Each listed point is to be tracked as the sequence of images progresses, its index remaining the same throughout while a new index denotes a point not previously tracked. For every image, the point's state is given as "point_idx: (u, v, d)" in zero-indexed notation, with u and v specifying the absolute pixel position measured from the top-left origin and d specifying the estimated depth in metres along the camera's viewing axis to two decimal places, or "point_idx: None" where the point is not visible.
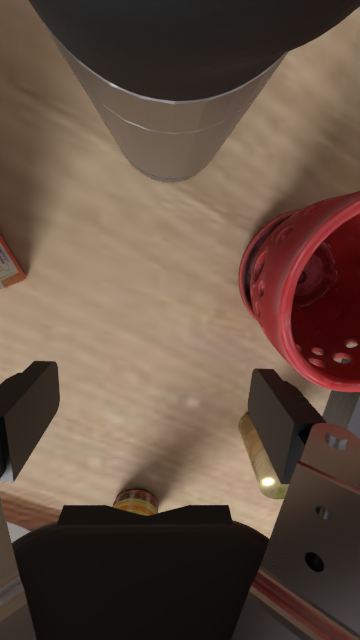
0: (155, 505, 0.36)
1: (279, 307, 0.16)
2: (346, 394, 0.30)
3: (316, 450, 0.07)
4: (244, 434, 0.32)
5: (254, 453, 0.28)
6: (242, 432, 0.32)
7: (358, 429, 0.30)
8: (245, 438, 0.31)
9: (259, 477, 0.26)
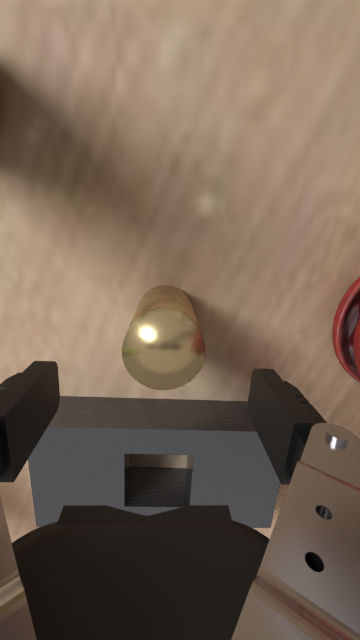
0: None
1: None
2: (243, 417, 0.23)
3: (316, 450, 0.07)
4: (170, 291, 0.20)
5: (178, 304, 0.17)
6: (167, 289, 0.20)
7: (205, 445, 0.21)
8: (170, 292, 0.19)
9: (171, 312, 0.14)
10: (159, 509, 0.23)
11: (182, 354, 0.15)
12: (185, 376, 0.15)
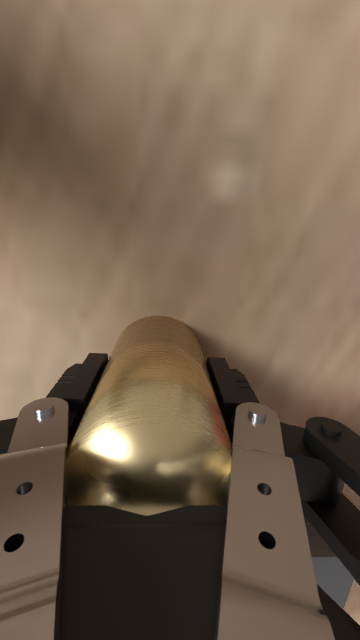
0: None
1: None
2: None
3: (243, 430, 0.07)
4: (165, 331, 0.11)
5: (182, 372, 0.08)
6: (161, 326, 0.12)
7: None
8: (166, 335, 0.11)
9: (166, 419, 0.06)
10: None
11: None
12: None
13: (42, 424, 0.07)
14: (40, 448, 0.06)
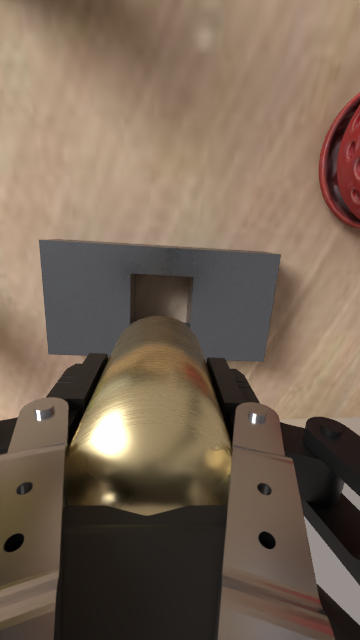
0: None
1: None
2: (238, 251, 0.25)
3: (244, 430, 0.07)
4: (164, 331, 0.11)
5: (182, 372, 0.08)
6: (161, 326, 0.12)
7: (204, 266, 0.23)
8: (166, 335, 0.11)
9: (167, 419, 0.06)
10: None
11: None
12: None
13: (42, 424, 0.07)
14: (40, 448, 0.06)
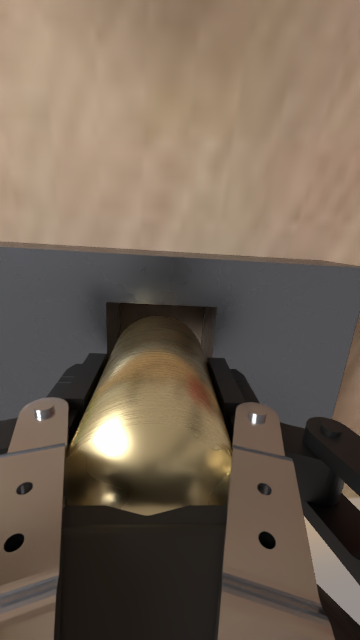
0: None
1: None
2: (290, 261, 0.15)
3: (244, 430, 0.07)
4: (165, 331, 0.11)
5: (182, 372, 0.08)
6: (161, 326, 0.12)
7: (236, 289, 0.13)
8: (165, 335, 0.11)
9: (167, 419, 0.06)
10: None
11: None
12: None
13: (42, 424, 0.07)
14: (40, 448, 0.06)
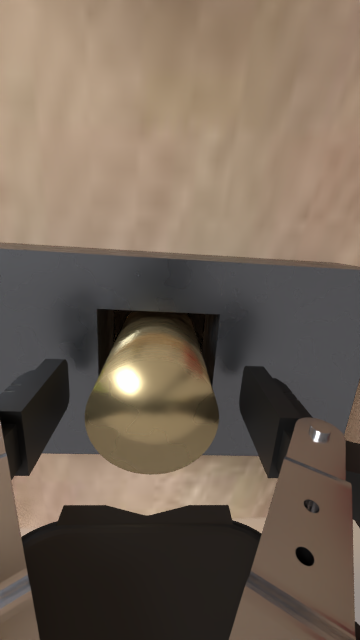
0: None
1: None
2: (300, 263, 0.14)
3: (301, 445, 0.07)
4: None
5: (176, 336, 0.11)
6: None
7: (240, 294, 0.12)
8: (164, 314, 0.14)
9: (164, 358, 0.09)
10: None
11: (182, 423, 0.09)
12: (187, 454, 0.10)
13: None
14: None
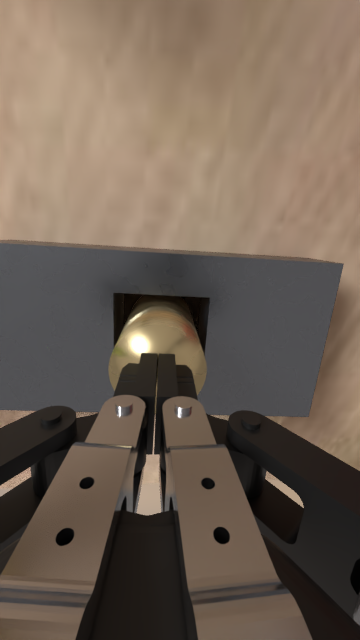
0: None
1: None
2: None
3: (174, 427, 0.07)
4: (165, 296, 0.17)
5: (175, 312, 0.14)
6: None
7: (226, 281, 0.15)
8: (166, 298, 0.17)
9: (166, 324, 0.12)
10: None
11: None
12: None
13: (119, 420, 0.07)
14: (109, 445, 0.06)
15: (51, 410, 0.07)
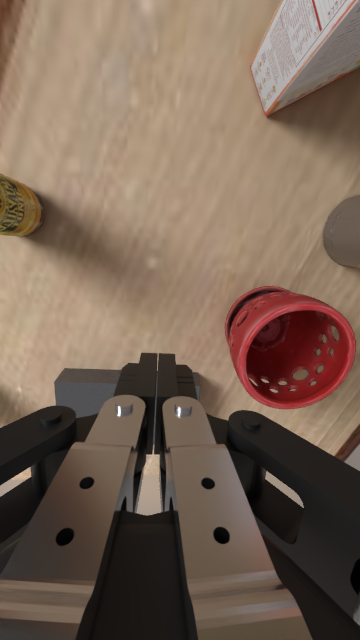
0: (30, 232, 0.34)
1: (301, 303, 0.28)
2: None
3: (174, 427, 0.07)
4: None
5: None
6: None
7: None
8: None
9: None
10: None
11: None
12: None
13: (119, 420, 0.07)
14: (109, 445, 0.06)
15: (51, 410, 0.07)
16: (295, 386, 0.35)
